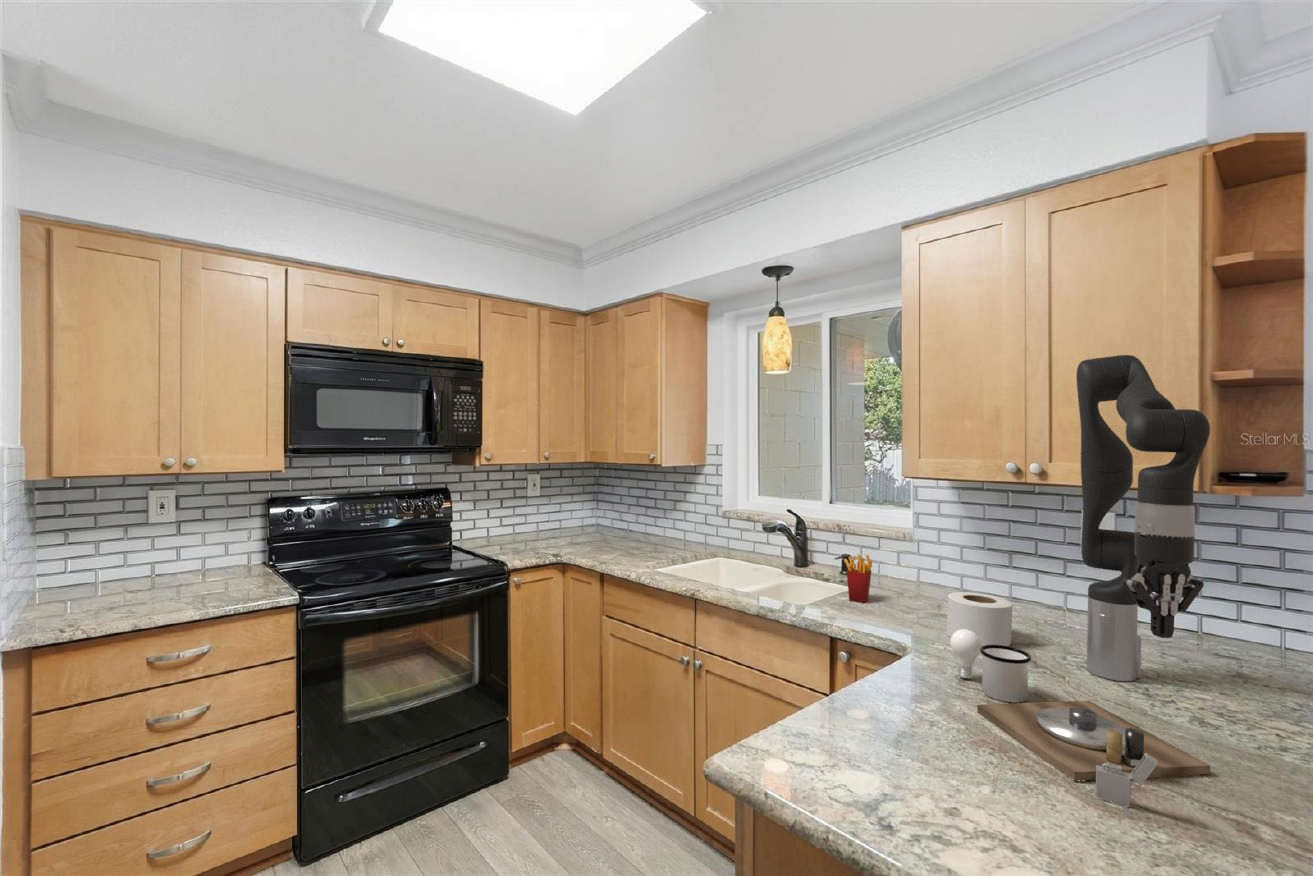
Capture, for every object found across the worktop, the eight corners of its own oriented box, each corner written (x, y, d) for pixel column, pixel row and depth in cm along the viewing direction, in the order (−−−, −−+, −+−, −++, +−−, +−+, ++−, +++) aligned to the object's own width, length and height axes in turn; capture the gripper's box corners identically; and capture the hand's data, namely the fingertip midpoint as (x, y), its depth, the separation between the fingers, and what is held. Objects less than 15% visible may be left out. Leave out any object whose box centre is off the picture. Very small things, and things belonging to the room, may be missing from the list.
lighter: (1095, 798, 91) (1096, 745, 91) (1095, 792, 93) (1096, 740, 93) (1156, 815, 87) (1157, 760, 87) (1155, 809, 89) (1156, 755, 89)
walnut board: (1088, 708, 122) (1089, 678, 122) (1210, 774, 98) (1210, 737, 98) (977, 712, 120) (977, 682, 120) (1074, 781, 96) (1075, 743, 96)
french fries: (866, 604, 196) (867, 558, 196) (840, 600, 201) (841, 554, 200) (873, 598, 203) (874, 553, 203) (848, 594, 208) (849, 550, 208)
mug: (1023, 709, 121) (1024, 664, 121) (972, 694, 128) (973, 651, 128) (1039, 692, 130) (1039, 649, 130) (990, 679, 137) (991, 638, 136)
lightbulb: (985, 685, 133) (986, 635, 133) (953, 682, 134) (954, 633, 134) (976, 674, 139) (976, 626, 139) (946, 672, 140) (947, 624, 140)
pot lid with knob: (1019, 714, 115) (1019, 688, 115) (1087, 712, 117) (1087, 686, 117) (1100, 768, 97) (1100, 736, 97) (1180, 765, 98) (1181, 734, 98)
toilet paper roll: (998, 631, 171) (999, 593, 171) (1021, 650, 156) (1022, 608, 156) (939, 627, 174) (940, 589, 174) (956, 645, 158) (957, 604, 158)
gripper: (1178, 527, 104) (1175, 628, 104) (1107, 527, 103) (1105, 630, 103) (1223, 534, 97) (1221, 643, 97) (1148, 535, 95) (1146, 645, 95)
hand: (1161, 636), depth 100 cm, fingers closed
